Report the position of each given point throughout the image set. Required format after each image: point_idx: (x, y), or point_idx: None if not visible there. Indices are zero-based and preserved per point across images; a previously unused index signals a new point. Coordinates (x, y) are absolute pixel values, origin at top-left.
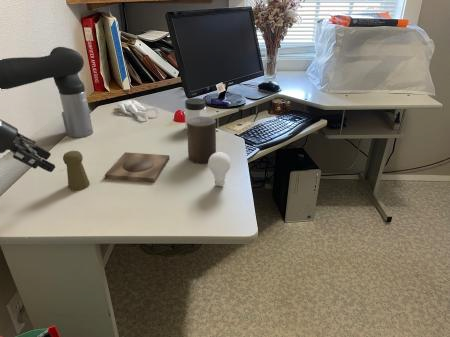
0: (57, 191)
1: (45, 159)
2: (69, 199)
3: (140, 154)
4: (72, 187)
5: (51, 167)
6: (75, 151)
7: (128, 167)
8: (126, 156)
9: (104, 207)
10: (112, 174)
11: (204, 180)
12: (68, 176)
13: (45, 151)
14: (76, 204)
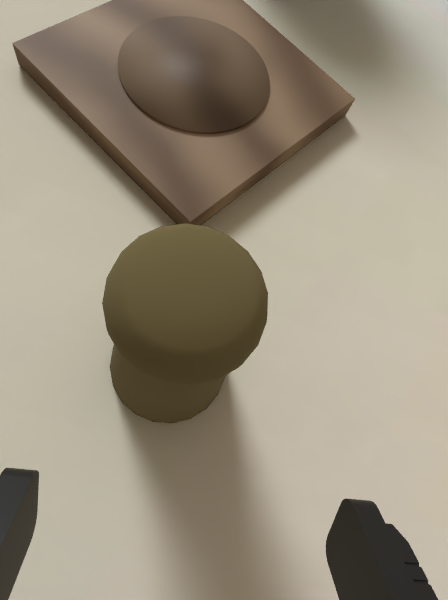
0: (154, 491)
1: (29, 540)
2: (284, 454)
3: (99, 17)
4: (203, 406)
5: (402, 546)
6: (182, 246)
7: (200, 114)
8: (68, 63)
9: (431, 340)
10: (216, 195)
11: (414, 14)
12: (185, 400)
13: (11, 532)
14: (349, 438)
